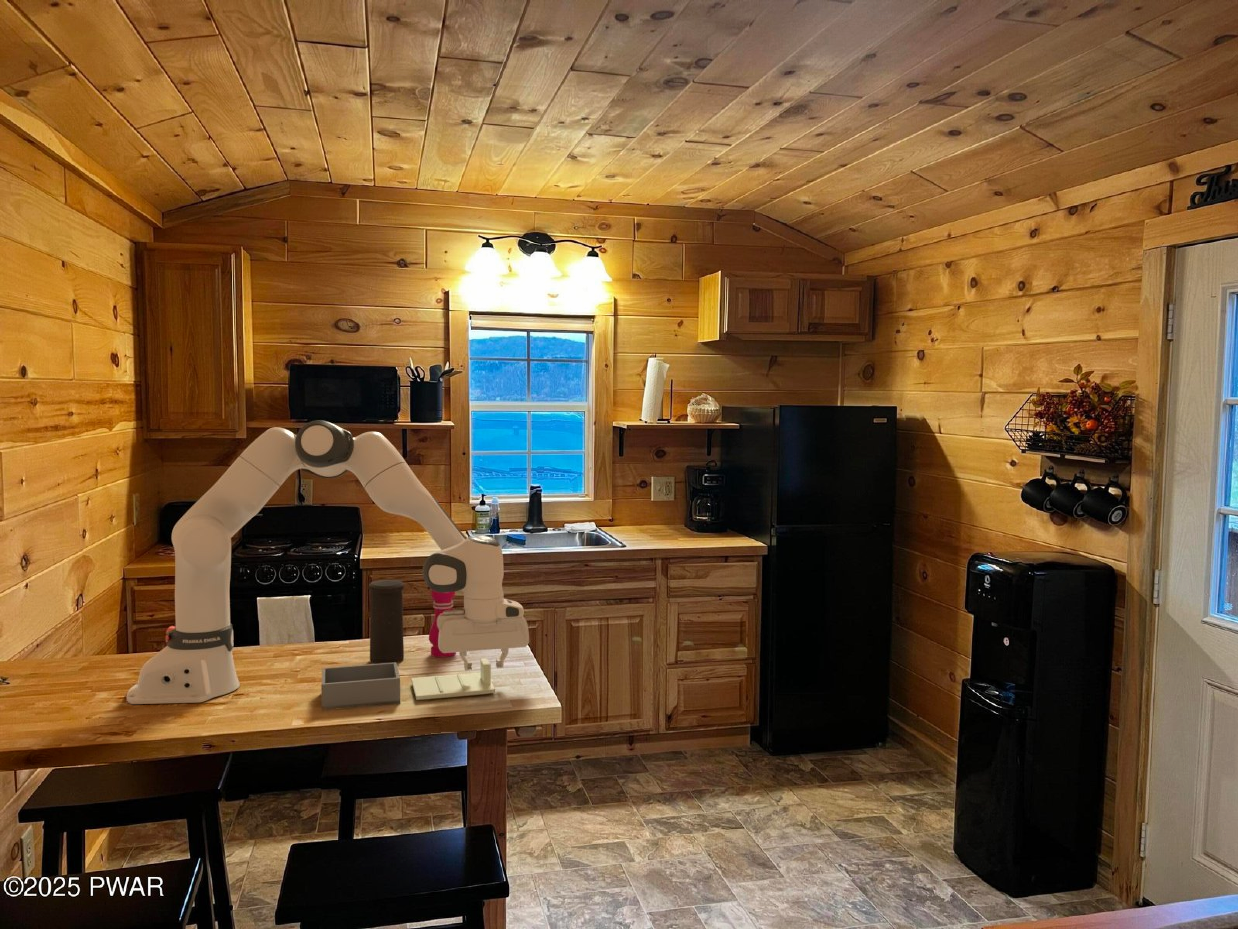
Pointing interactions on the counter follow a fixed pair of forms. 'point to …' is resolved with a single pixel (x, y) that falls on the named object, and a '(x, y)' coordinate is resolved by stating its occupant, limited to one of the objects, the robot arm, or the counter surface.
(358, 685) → the tub
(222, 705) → the counter surface
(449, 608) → the pepper mill
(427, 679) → the lid
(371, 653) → the container
